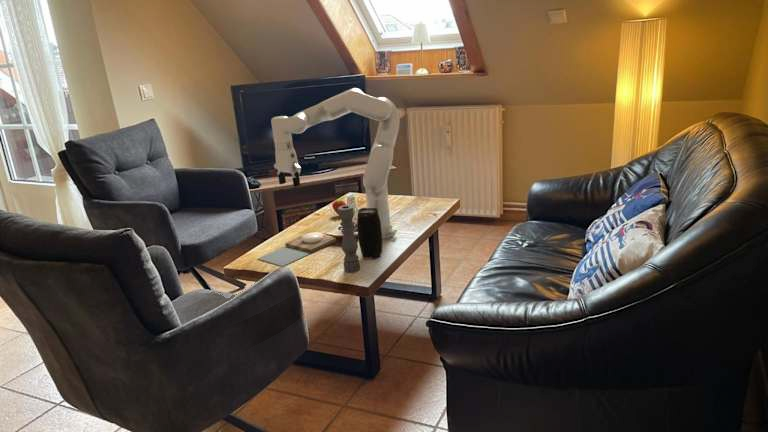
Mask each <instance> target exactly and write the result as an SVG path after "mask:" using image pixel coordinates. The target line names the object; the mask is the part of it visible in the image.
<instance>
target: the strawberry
mask: <svg viewBox="0 0 768 432" xmlns="http://www.w3.org/2000/svg"><path fill="white" fill-rule="evenodd" d="M340 198H341V197H340V196H339V199H335V200H333V203H332V209H333V211H334V212H335V213H336V214H337V215H338V216H339V214H338V207H340V206H343V205H347V203H346V202H345V200H344V198H341V199H340Z"/></svg>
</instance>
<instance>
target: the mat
mask: <svg viewBox="0 0 768 432" xmlns="http://www.w3.org/2000/svg"><path fill="white" fill-rule="evenodd" d="M309 255H311V253H308V252H304V251H300V250H296V249H292V248H288V247H286V246H284V247H281V248H278V249H276V250H274V251H272V252H270V253H267V254H265V255H262V256H260V257H258V258H257V261H261V262H265V263H268V264H272V265H276V266H278V267H282V266H284V267H286V266H288V265H290V264H293V263H294V262H297V261H298V260H300V259H303V258H305V257H307V256H309Z"/></svg>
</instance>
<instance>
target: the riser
mask: <svg viewBox="0 0 768 432" xmlns="http://www.w3.org/2000/svg"><path fill="white" fill-rule="evenodd" d="M309 233H312V232H309ZM302 236H303V235H300V236H299V237H296V238H295V239H292V240H289V241H287V242H285V243H284V244H285V247H288V248H292V249H296V250H300V251H304V252H308V253H310V254H314V253H316V252H318V251H320V250H321V249H324V248H326V247H328V246H331V245H332V244H334V243H336V242H337V238H336V237H333V236H328V235H324V234H323V240H322V241H320V242H316V243H304V242H303V239H302Z"/></svg>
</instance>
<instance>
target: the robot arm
mask: <svg viewBox="0 0 768 432" xmlns="http://www.w3.org/2000/svg"><path fill="white" fill-rule="evenodd" d="M350 113H353V114H356V115H359V116H362V117H365V118H368V119H371V120H374V121H377V122H379V123H378V124H379V125H378V126H377V127H378V128H377V132H376V134H375V135H376V136H375V139H374V141H373V145H372V146H371V148H370V153H369V157H368V160H367V163H366V168H365V170H364V172H363V177H362V184H363V187H364V188H365V189H364V190H365V198H366V199H365V200H366V201H365V202H366V208H377V210H378V215H379V218H380V222H381V231H382V240H384V239H388V238H391V237H393V236H395V235H396V234H397V233H396V232H397V231H398V229H397V228H395V227H394V228H393V224H392V223H391V219H390V217H391V214H390V206H389V193H388V178H389V174H390V170H391V167H392V164H393V159H394V150H395V145H396V141H397V138H398V133H399V130H400V122H401V121H400V114H399V111H398V108H397V107H396V105H395V103H393V102H392V100H390V99H389V98H387V97H384V96H380V97H375V96H371V95H369V94H366V93H364V91H362V89H361V88H357V87H353V88H350V89H347V90H345V91H343V92H341V93H339V94H336V95H334V96H332V97H330V98H328V99H325V100H323V101H321V102H319V103H318V104H317V103H316V105H313V106H310V107H308V108H306V109H304V110H301V111H299V112H297V113H295V114H294V115H293V116H286V115H279V116H273V117H272V118H271V120H270V123H271V124H270V125H271V129H272V135H273V142H274V149H275V153H274V154H275V155H274V156H275V163H274V164H273V167H274V169H275V170H274V171H275V172H276V175H277V177H278V184H279V185H284V184H286V183H287V182H286V180H287V179H286V174H285V173H287V174H291V176H292V184H293V187H294V188H297V187H300V185H301V180H300V176H301V173H302V172H301V171H302V167H301V165H299V160H298V155H297V153H296V150H295V148H294V144H293V134H294V135H295V134H296V135H298V134H303V133H304V132H305V131H306V130H307V129H308V128H311V127H313V126H315V125H317V124H320V123H323V122H326V121H327V122H328V121H333V120H336V119H338V118H341V117H343V116H344V115H347V114H350Z"/></svg>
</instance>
